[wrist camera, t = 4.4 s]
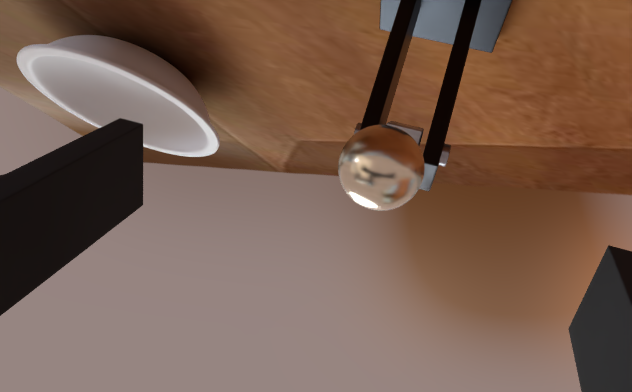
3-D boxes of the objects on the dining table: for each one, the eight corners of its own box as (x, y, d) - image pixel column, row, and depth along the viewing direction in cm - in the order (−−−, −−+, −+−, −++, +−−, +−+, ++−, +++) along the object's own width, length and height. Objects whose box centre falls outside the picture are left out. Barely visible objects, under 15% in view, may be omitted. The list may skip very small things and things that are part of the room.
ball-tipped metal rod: (342, 117, 21) (321, 205, 22) (434, 139, 20) (409, 229, 21) (382, 109, 36) (369, 162, 36) (437, 122, 35) (422, 175, 36)
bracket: (389, -96, 34) (318, 111, 29) (537, -70, 32) (485, 151, 28) (383, 17, 44) (329, 182, 40) (495, 40, 43) (452, 214, 38)
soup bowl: (10, -38, 54) (-22, 17, 52) (240, 48, 56) (217, 103, 54) (73, 74, 77) (53, 115, 75) (235, 132, 79) (219, 173, 77)
